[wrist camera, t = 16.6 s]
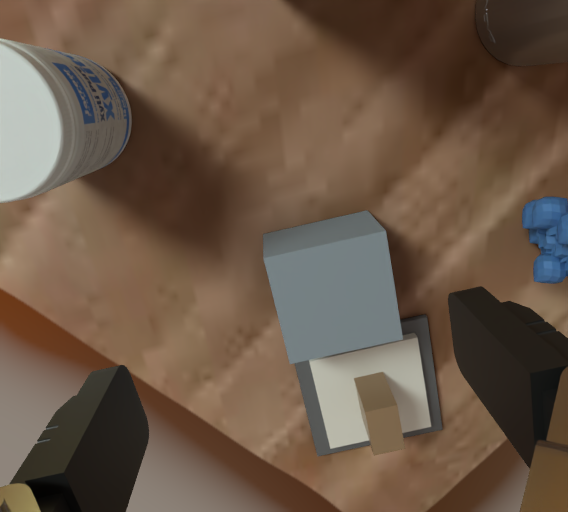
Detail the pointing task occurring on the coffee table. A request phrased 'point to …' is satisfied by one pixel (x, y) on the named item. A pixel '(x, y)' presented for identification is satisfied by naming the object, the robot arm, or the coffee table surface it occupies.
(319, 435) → the rubber mat
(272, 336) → the coffee table surface
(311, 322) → the storage box
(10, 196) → the supplement tub
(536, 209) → the grapes
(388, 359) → the lid
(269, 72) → the coffee table surface
